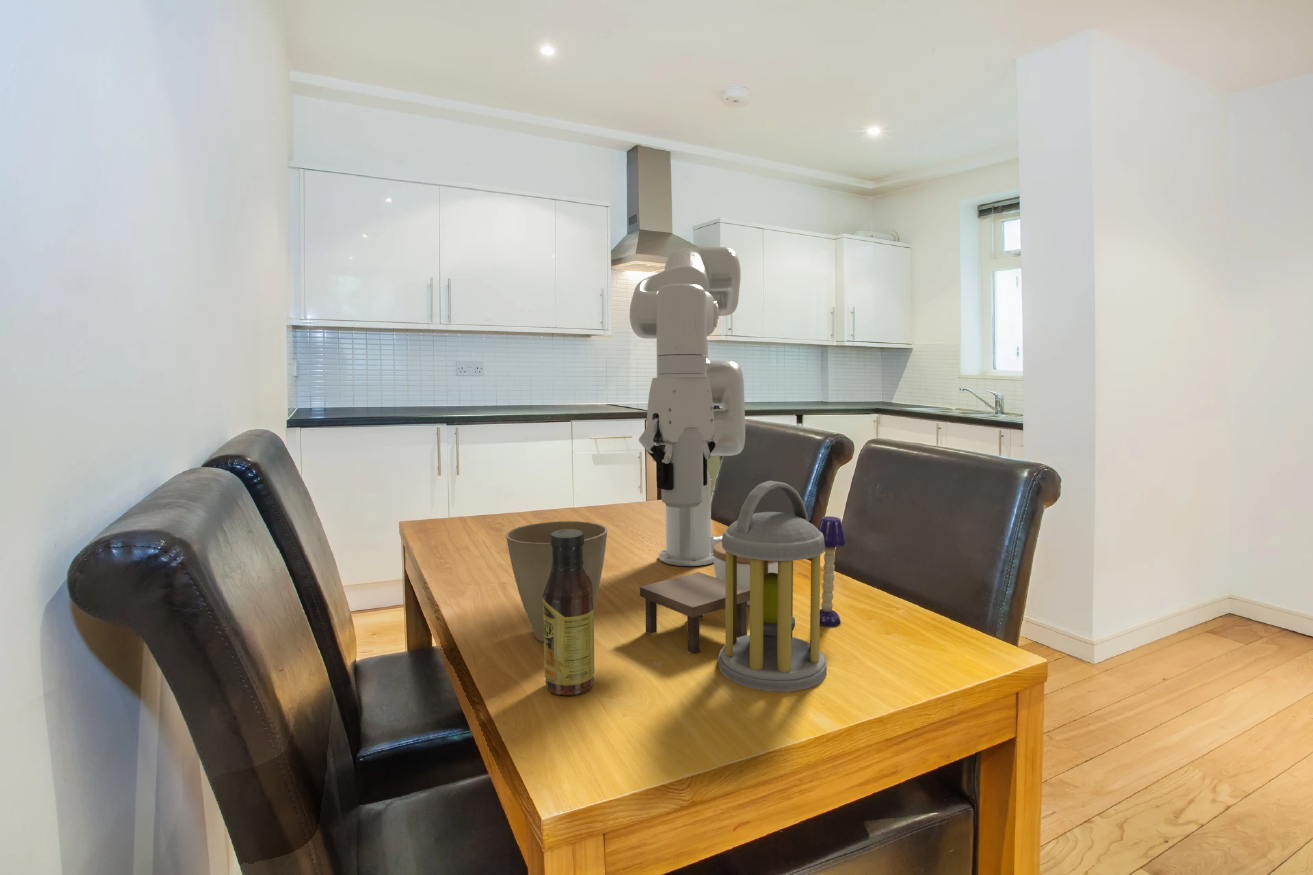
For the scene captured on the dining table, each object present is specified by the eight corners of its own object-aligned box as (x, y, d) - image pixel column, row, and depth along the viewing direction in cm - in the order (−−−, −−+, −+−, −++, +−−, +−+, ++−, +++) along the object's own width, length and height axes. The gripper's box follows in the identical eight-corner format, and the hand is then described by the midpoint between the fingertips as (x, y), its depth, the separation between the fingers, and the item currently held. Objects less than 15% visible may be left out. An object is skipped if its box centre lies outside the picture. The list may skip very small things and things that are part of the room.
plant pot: (604, 614, 110) (602, 518, 109) (614, 650, 95) (612, 540, 94) (511, 620, 107) (508, 522, 106) (506, 658, 93) (503, 545, 91)
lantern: (775, 638, 99) (776, 470, 97) (850, 673, 87) (853, 483, 85) (697, 660, 92) (696, 479, 89) (768, 702, 80) (769, 494, 77)
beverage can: (699, 509, 99) (699, 428, 98) (657, 508, 100) (656, 428, 99) (706, 502, 105) (705, 425, 104) (665, 501, 107) (665, 425, 106)
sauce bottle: (546, 676, 87) (543, 526, 85) (595, 674, 88) (592, 524, 86) (542, 701, 80) (538, 538, 79) (594, 698, 81) (592, 536, 79)
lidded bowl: (793, 592, 120) (794, 531, 119) (775, 615, 109) (775, 548, 108) (726, 583, 126) (726, 525, 125) (702, 604, 114) (702, 541, 113)
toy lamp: (845, 618, 107) (846, 515, 105) (843, 629, 102) (844, 521, 101) (814, 615, 108) (815, 513, 107) (811, 625, 104) (812, 519, 103)
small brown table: (698, 613, 110) (698, 571, 109) (752, 635, 100) (752, 589, 100) (640, 631, 102) (639, 586, 102) (693, 656, 93) (692, 607, 92)
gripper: (707, 369, 109) (707, 479, 111) (620, 368, 99) (621, 489, 100) (740, 368, 103) (740, 484, 105) (651, 367, 93) (652, 495, 94)
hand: (682, 485), depth 102 cm, fingers closed on beverage can, 6 cm apart
